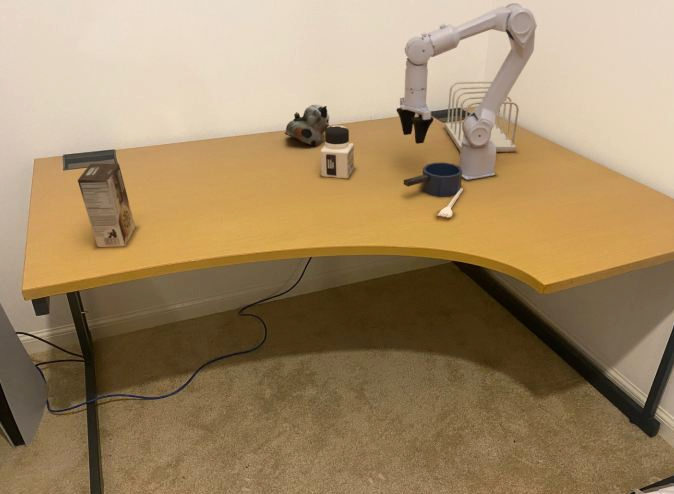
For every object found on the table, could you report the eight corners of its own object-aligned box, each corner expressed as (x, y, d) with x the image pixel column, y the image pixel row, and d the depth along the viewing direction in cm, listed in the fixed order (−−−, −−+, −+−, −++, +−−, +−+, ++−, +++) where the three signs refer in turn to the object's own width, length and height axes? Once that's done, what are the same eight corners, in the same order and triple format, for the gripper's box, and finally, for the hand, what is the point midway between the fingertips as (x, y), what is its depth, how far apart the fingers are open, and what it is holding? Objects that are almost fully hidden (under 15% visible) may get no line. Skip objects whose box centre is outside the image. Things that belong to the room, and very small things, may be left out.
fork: (467, 191, 152) (468, 185, 151) (446, 223, 137) (447, 216, 136) (455, 189, 153) (456, 183, 152) (433, 221, 138) (434, 214, 137)
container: (347, 179, 159) (347, 133, 152) (321, 176, 160) (319, 131, 153) (354, 168, 165) (353, 124, 158) (328, 166, 167) (326, 122, 159)
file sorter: (515, 152, 177) (523, 101, 168) (460, 154, 175) (465, 102, 167) (493, 126, 198) (499, 80, 189) (444, 128, 196) (447, 81, 188)
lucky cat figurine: (286, 134, 190) (302, 94, 187) (319, 149, 192) (336, 110, 188) (279, 135, 176) (297, 92, 172) (315, 152, 177) (333, 109, 174)
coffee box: (108, 228, 134) (90, 163, 125) (136, 227, 135) (120, 162, 126) (96, 247, 126) (75, 179, 118) (125, 246, 127) (107, 178, 118)
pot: (443, 178, 160) (444, 159, 157) (467, 190, 153) (469, 171, 150) (393, 192, 151) (393, 173, 148) (417, 206, 145) (418, 186, 141)
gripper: (390, 82, 153) (389, 132, 161) (414, 96, 142) (412, 149, 149) (413, 80, 155) (411, 129, 163) (439, 93, 144) (435, 145, 152)
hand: (413, 138), depth 156 cm, fingers open, 7 cm apart
